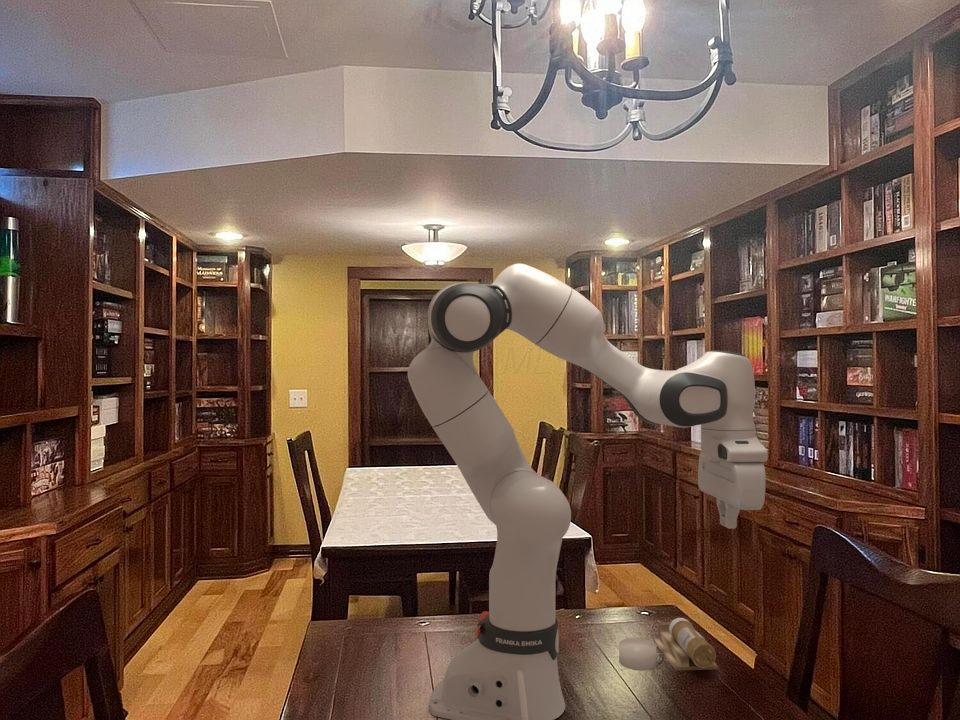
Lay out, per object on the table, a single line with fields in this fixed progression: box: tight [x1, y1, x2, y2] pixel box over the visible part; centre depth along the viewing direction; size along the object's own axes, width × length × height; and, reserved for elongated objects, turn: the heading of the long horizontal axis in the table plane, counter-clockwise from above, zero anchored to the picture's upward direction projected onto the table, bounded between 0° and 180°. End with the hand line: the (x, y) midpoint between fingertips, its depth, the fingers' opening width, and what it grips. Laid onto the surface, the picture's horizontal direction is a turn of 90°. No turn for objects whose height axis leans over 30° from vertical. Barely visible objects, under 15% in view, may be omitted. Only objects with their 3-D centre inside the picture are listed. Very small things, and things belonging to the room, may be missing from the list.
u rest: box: [653, 621, 719, 671], centre depth 141 cm, size 14×8×4 cm, turn 3°
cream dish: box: [618, 637, 658, 671], centre depth 137 cm, size 7×7×4 cm
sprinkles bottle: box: [669, 617, 717, 668], centre depth 137 cm, size 5×5×14 cm
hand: (728, 526), depth 123 cm, fingers closed
